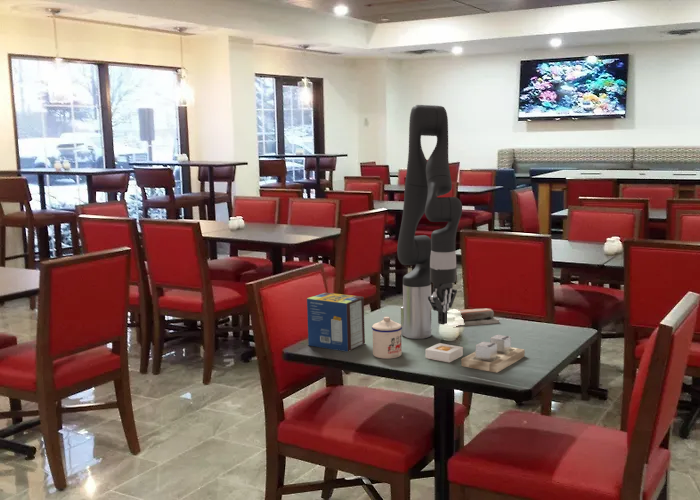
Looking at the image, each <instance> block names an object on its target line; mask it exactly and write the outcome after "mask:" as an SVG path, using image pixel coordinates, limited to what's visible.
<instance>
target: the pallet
mask: <svg viewBox="0 0 700 500" xmlns="http://www.w3.org/2000/svg"><path fill="white" fill-rule="evenodd" d="M525 352H526V351H525V349H524V348H518V347H512V346H511V352H510V353H508V354H506V355H505V354H499V353H497V360H495V361H494V362H492V363H491V362H486V361H480V360H476V351H473V352H472V353H470V354H468V355H466V356H464V357H462V358H461V359H460V360H461V361H460V362H461V367H465V368H471V369H476V370H480V371H485V372H486V371H487V372H491V373H499V372H501V371H503V370H504V369H507V368H508V367H509V366H511V365H513V364H515V363H516V362H518V361H519V360H522V359H523V358H524V357H525V354H526V353H525Z"/></svg>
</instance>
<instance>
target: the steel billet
mask: <svg viewBox="0 0 700 500" xmlns="http://www.w3.org/2000/svg"><path fill="white" fill-rule="evenodd" d="M475 352H476V360H480V361H486V362H491V363H492V362H494V361H495V360H497V344H495V343H490V342H489V341H488V342H487V341H481V342H479V343H477V344H475Z"/></svg>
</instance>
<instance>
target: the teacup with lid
mask: <svg viewBox="0 0 700 500" xmlns="http://www.w3.org/2000/svg"><path fill="white" fill-rule="evenodd" d="M401 329H402V326H401V323H399V322H396V321H394V320H392V319H391V318H390V316H383V320H380V321H378V322H375V323H373V324H372V327H371V330H372V355H373V356H374V357H375V358H378V359H383V360H386V359H388V360H389V359H390V360H391V359H396V358H399V357H401V356H402V353H403V352H402V350H403V349H402V347H403V346H402V335H401Z"/></svg>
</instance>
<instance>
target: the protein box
mask: <svg viewBox="0 0 700 500" xmlns="http://www.w3.org/2000/svg"><path fill="white" fill-rule="evenodd" d="M306 308H307V310H306V311H307V313H306V314H307V342H308V343H307V345H308V346H309V347H317V348H321V349H329V350H335V351H341V352H346V353H347V352H350V351H352V350H354V349H357V348H359V347H361V346H363V345H365V344H366V339H365V337H366V335H365V332H366V331H365V298H364V296H361V295H351V294H343V293H342V294H341V293H330V292H322V293H320V294H317V295H313V296H310V297H307V298H306Z"/></svg>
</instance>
